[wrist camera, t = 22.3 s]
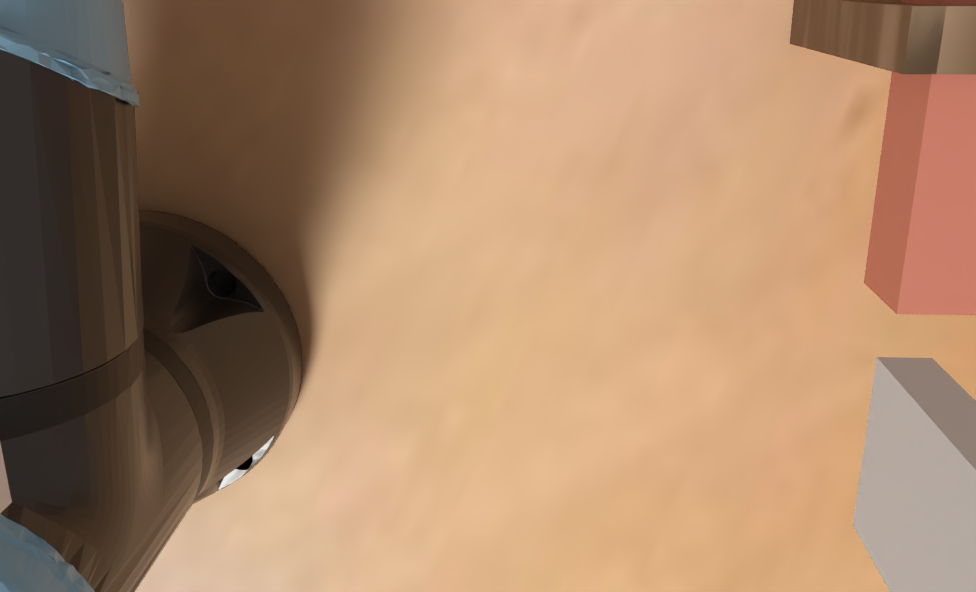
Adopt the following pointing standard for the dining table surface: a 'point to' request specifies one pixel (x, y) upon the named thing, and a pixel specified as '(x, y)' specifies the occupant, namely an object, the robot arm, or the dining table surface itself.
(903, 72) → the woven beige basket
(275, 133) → the dining table surface
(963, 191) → the red block
